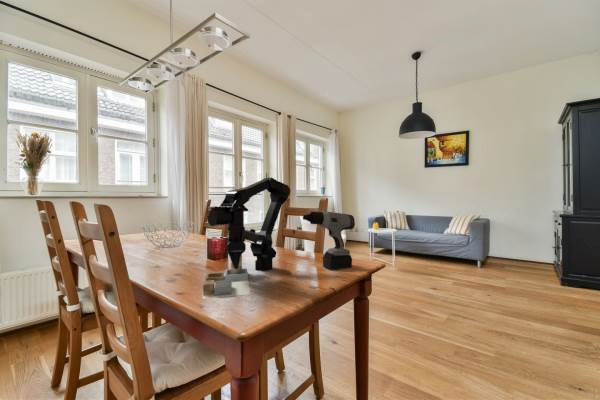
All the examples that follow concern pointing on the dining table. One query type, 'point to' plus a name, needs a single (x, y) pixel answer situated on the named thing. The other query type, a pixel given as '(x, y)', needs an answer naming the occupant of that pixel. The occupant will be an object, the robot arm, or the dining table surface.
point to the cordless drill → (334, 237)
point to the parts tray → (236, 275)
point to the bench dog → (208, 287)
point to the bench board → (233, 289)
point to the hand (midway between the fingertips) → (236, 265)
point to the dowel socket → (215, 276)
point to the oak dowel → (239, 270)
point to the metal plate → (223, 287)
